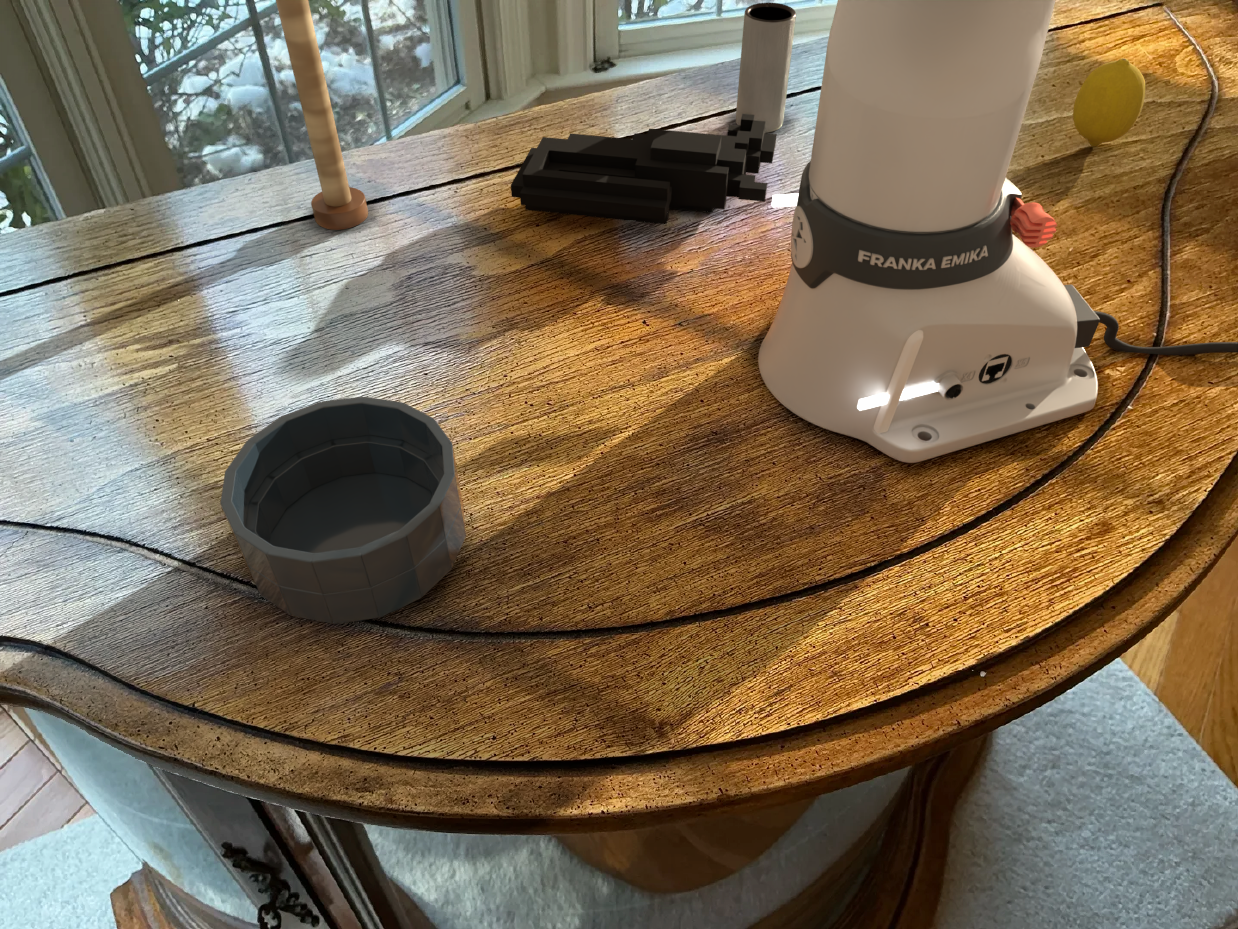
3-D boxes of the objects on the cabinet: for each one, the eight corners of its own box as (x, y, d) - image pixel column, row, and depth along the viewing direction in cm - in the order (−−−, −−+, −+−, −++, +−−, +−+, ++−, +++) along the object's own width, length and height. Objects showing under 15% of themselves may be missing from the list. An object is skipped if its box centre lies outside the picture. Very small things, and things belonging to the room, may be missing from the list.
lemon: (1049, 136, 92) (1077, 50, 86) (1100, 127, 93) (1130, 42, 87) (1086, 164, 88) (1118, 76, 83) (1138, 154, 89) (1173, 67, 84)
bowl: (460, 458, 62) (448, 386, 58) (473, 614, 54) (460, 542, 49) (261, 483, 61) (234, 410, 56) (242, 646, 52) (208, 576, 48)
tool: (551, 85, 88) (504, 167, 77) (780, 104, 85) (763, 192, 75) (554, 141, 92) (510, 226, 81) (773, 162, 89) (756, 253, 78)
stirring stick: (368, 200, 84) (322, -22, 72) (368, 227, 81) (320, 0, 69) (316, 204, 84) (260, -18, 71) (313, 232, 81) (255, 5, 68)
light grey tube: (790, 118, 95) (804, 8, 87) (770, 137, 92) (782, 25, 85) (748, 107, 96) (758, -2, 89) (727, 126, 94) (735, 14, 86)
